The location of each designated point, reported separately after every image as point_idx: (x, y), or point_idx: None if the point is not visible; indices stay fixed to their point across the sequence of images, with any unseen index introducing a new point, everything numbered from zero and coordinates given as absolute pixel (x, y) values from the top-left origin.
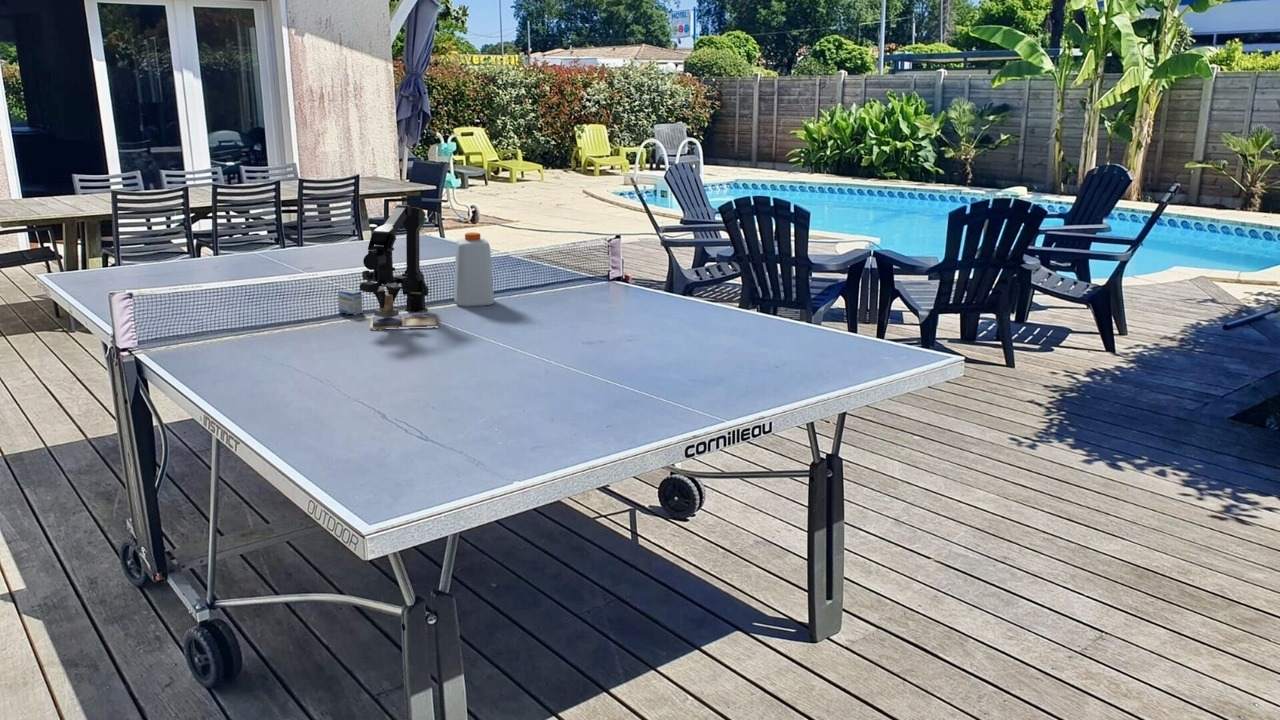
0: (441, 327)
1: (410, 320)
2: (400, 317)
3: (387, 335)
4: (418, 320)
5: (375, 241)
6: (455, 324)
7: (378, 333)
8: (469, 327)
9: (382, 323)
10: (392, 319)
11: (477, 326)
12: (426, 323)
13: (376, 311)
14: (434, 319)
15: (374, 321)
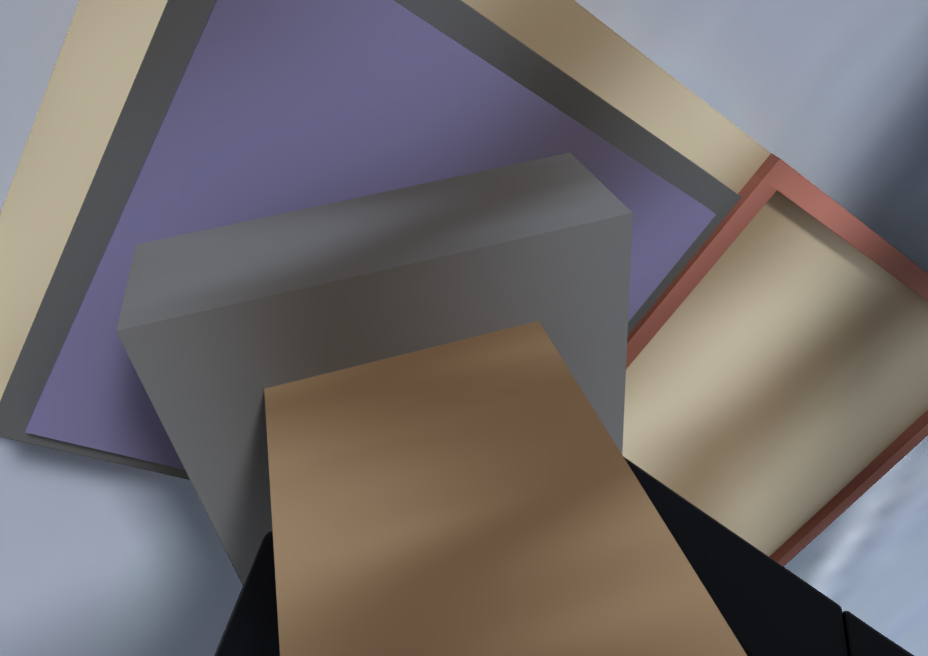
0: None
1: (726, 320)
2: (655, 287)
3: (125, 649)
4: (784, 368)
5: None
6: (904, 523)
7: (37, 557)
8: (871, 618)
9: (185, 476)
10: None
11: (922, 612)
12: (727, 511)
13: (155, 383)
14: (917, 407)
15: (56, 379)
